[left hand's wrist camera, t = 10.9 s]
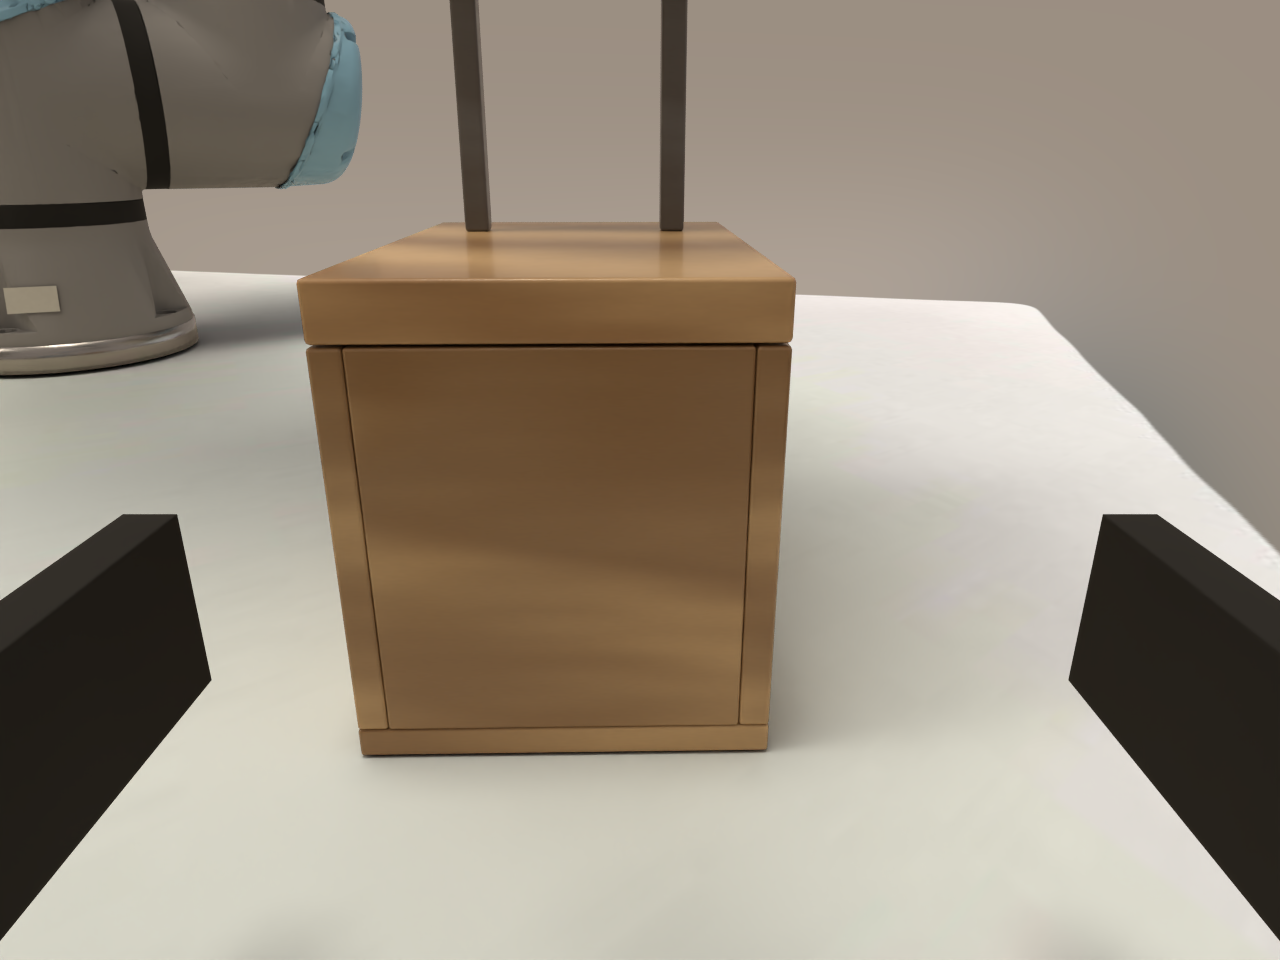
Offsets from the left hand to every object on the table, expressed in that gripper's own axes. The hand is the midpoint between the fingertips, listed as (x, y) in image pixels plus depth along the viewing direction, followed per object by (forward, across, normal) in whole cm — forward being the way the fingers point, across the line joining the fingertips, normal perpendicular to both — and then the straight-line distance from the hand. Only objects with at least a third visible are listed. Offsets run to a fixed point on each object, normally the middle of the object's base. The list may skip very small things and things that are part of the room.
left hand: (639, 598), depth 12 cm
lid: (+12, -2, +3) cm, 13 cm away
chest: (+12, -2, -7) cm, 14 cm away
